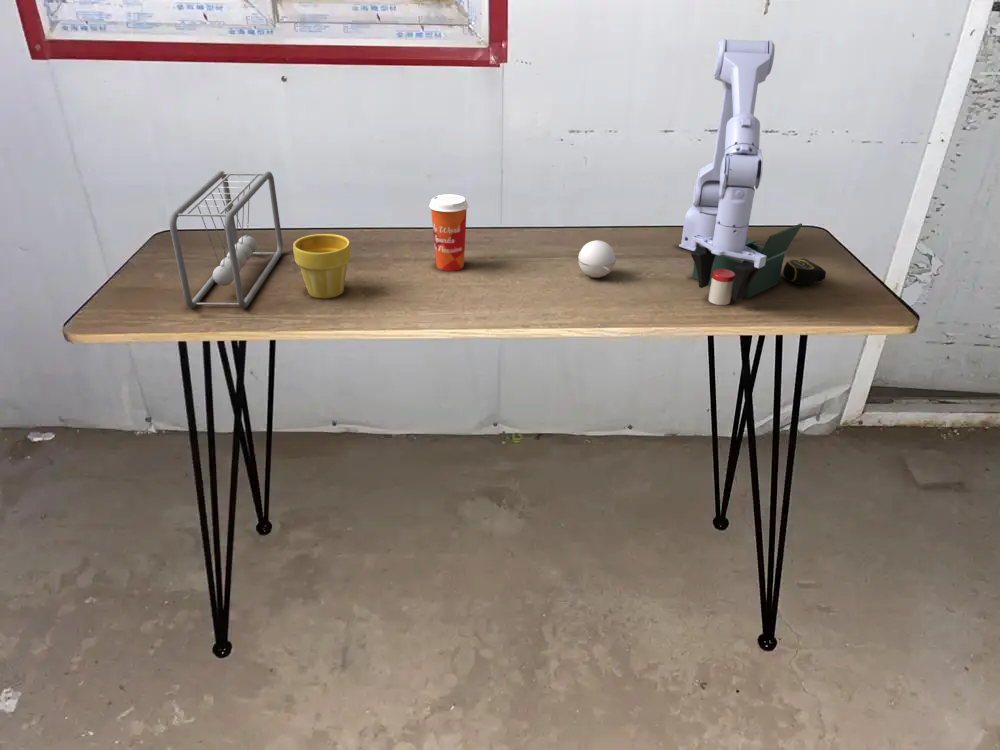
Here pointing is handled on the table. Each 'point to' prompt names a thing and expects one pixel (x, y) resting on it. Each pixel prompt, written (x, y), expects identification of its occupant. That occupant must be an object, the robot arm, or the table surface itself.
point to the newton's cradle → (228, 238)
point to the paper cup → (449, 230)
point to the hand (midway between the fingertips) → (720, 292)
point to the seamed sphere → (596, 259)
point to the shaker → (721, 286)
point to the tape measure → (803, 272)
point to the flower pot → (323, 263)
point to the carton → (763, 277)
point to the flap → (780, 241)
